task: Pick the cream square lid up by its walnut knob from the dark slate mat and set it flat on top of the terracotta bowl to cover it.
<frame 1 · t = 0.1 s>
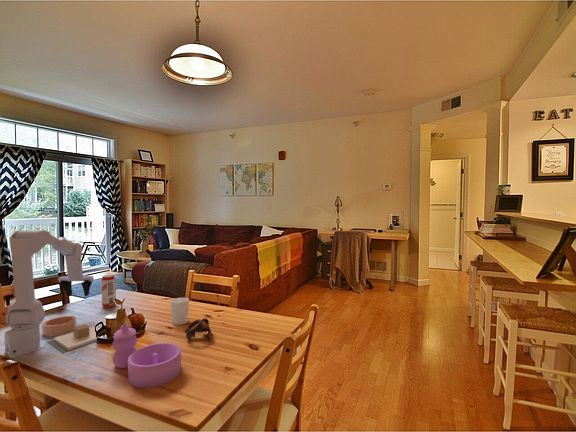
hand: (78, 295, 143), 11 cm above the table, tool pointing down, fingers open, 7 cm apart
white cup: (180, 322, 137), on the table
dark brown arched piece: (200, 337, 122), on the table
lid: (81, 338, 120), resting on mat
container set: (144, 370, 98), on the table
mat: (81, 339, 120), on the table
bowl: (59, 331, 128), on the table
beer can: (109, 306, 159), on the table
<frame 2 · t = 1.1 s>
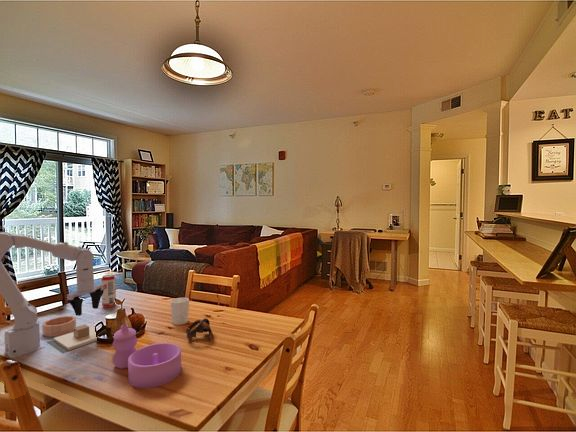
hand: (87, 311, 123), 10 cm above the table, tool pointing down, fingers open, 7 cm apart
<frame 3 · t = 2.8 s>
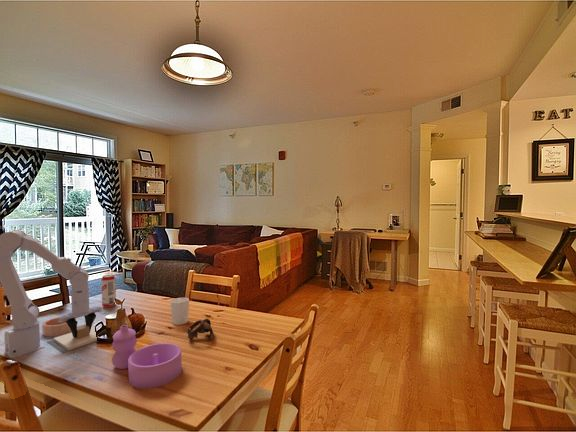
hand: (81, 334, 120), 2 cm above the table, tool pointing down, fingers closed on lid, 4 cm apart
lid: (81, 338, 120), resting on mat, touching gripper
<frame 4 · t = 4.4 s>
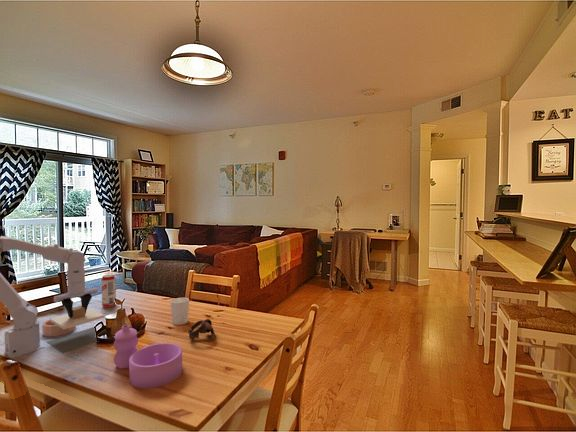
hand: (77, 315, 121), 9 cm above the table, tool pointing down, fingers closed on lid, 4 cm apart
lid: (77, 319, 121), point 8 cm above the table, touching gripper
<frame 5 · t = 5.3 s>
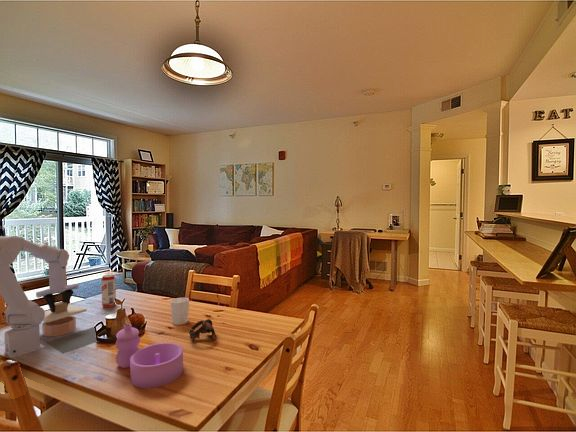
hand: (59, 309, 127), 9 cm above the table, tool pointing down, fingers closed on lid, 4 cm apart
lid: (59, 314, 127), point 8 cm above the table, touching gripper
when the fingers open (7 cm above the table, at t = 6.0 s): lid drops 1 cm, resting on bowl.
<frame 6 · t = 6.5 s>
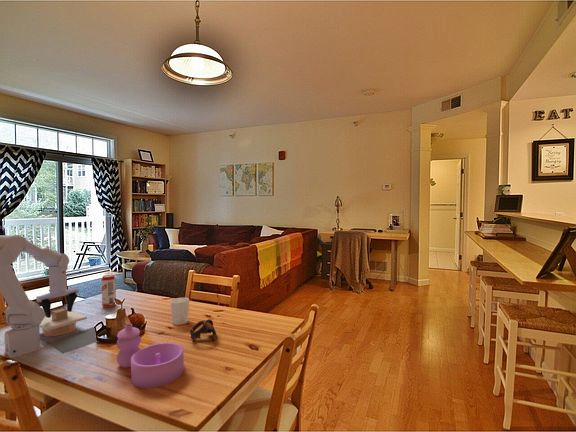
hand: (59, 314, 127), 7 cm above the table, tool pointing down, fingers open, 7 cm apart
lid: (59, 321, 127), point 4 cm above the table, touching bowl
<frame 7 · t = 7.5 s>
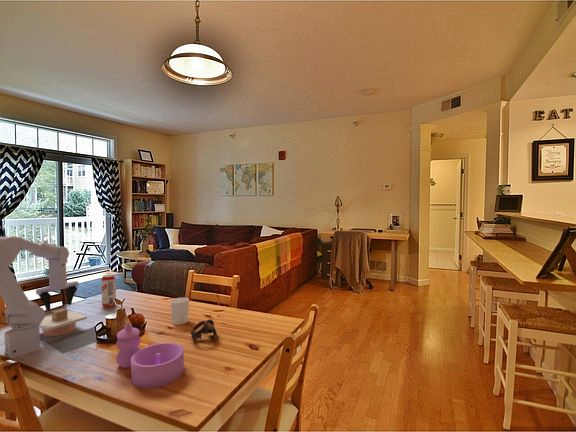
hand: (58, 307, 127), 10 cm above the table, tool pointing down, fingers open, 7 cm apart
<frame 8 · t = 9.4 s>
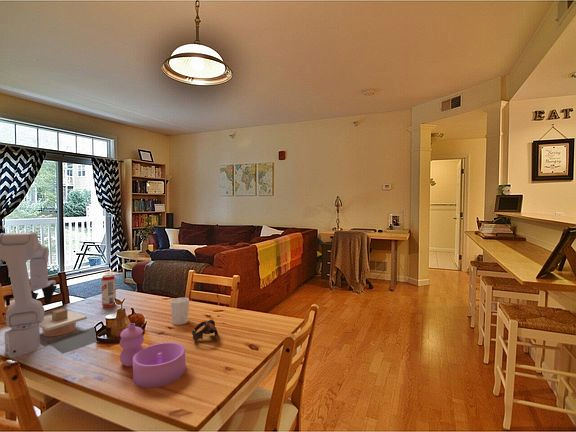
hand: (40, 306, 128), 10 cm above the table, tool pointing down, fingers open, 7 cm apart
at the end: lid 0.4 cm from the bowl (horizontally); lid point 4.5 cm above the table; lid tilted 0° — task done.
